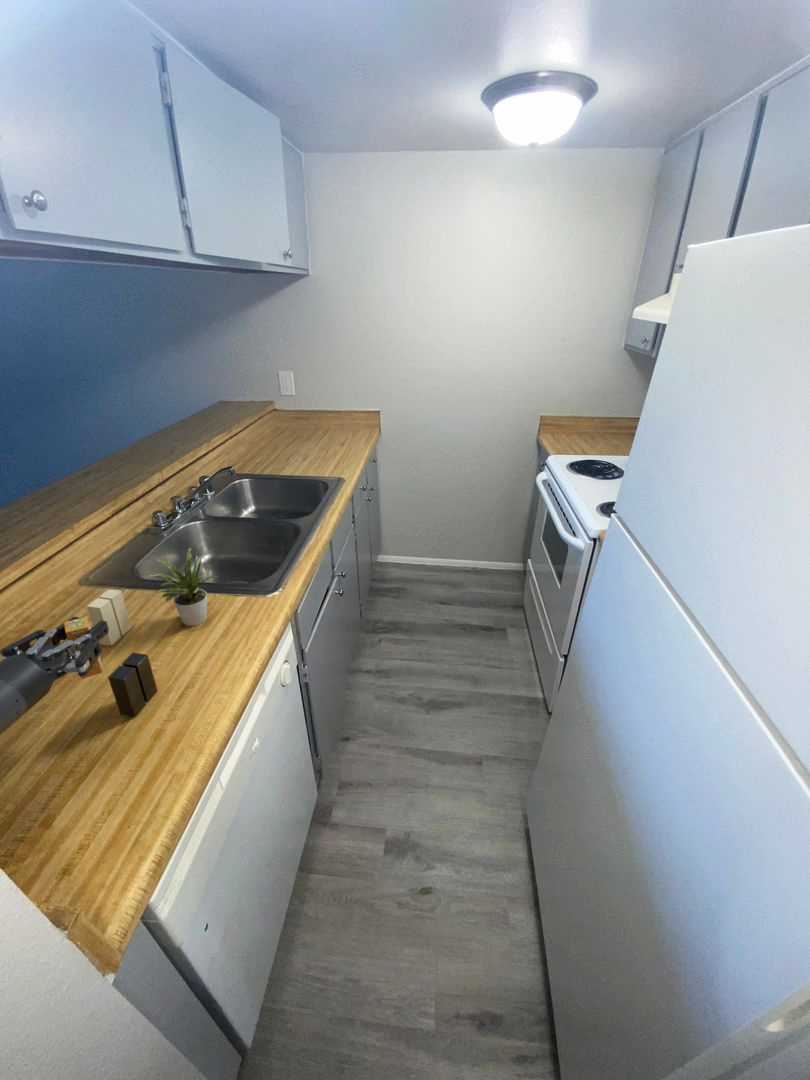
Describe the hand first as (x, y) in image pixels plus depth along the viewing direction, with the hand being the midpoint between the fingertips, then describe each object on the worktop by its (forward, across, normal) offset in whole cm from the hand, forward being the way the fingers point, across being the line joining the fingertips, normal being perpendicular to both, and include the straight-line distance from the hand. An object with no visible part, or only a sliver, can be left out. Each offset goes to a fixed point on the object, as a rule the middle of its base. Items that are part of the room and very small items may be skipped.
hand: (91, 623), depth 79 cm
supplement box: (-3, 0, +8) cm, 9 cm away
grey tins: (+1, -4, +19) cm, 19 cm away
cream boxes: (+18, +14, +19) cm, 29 cm away
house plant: (+27, +1, +19) cm, 33 cm away
